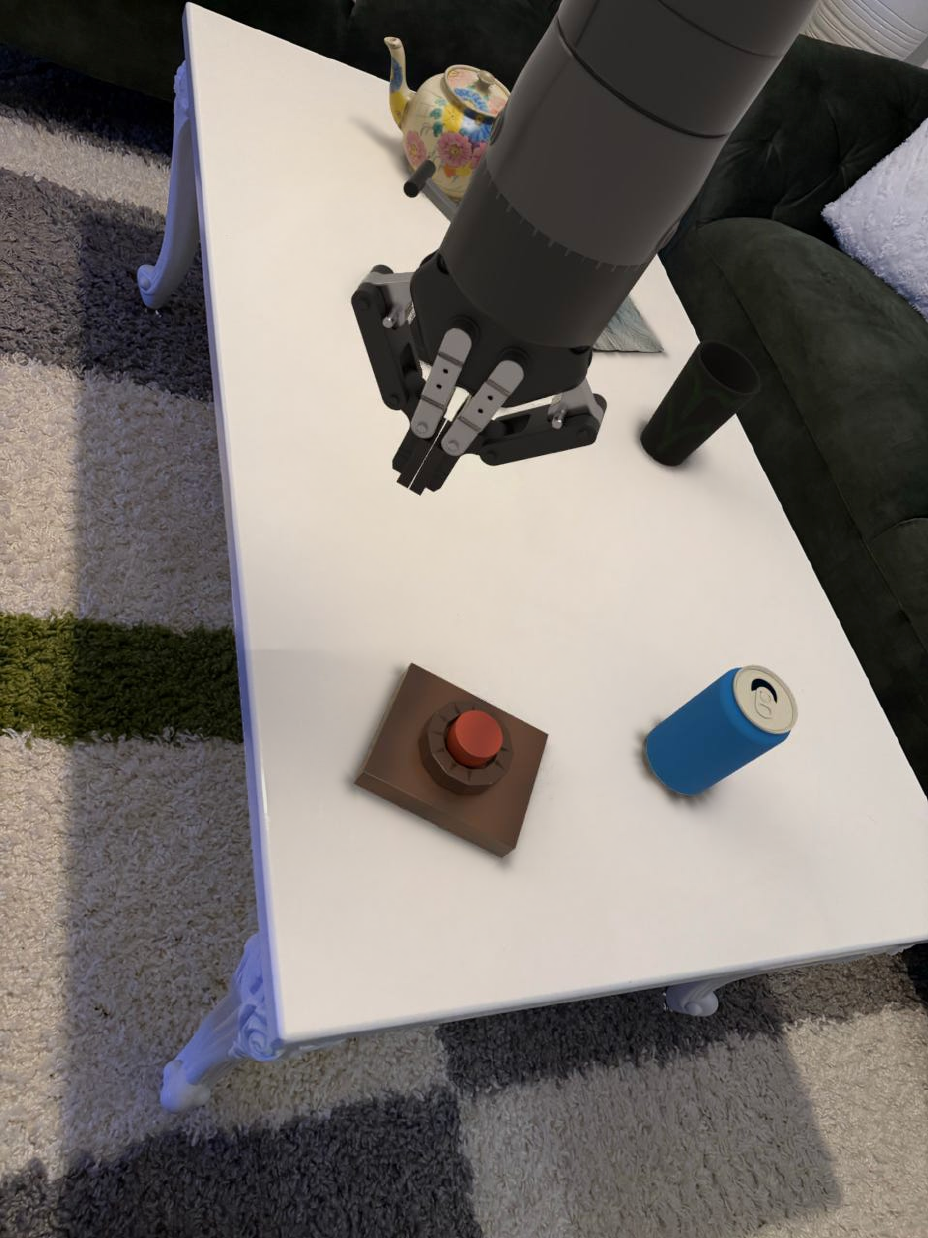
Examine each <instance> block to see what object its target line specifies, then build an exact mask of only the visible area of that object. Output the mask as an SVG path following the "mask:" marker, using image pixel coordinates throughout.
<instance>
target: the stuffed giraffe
mask: <svg viewBox="0 0 928 1238" xmlns="http://www.w3.org/2000/svg"><path fill="white" fill-rule="evenodd" d="M593 349H596V350H597V351H601V350H602V351H615V350H616V351H617V350H618V351H623V352H625V351H630V352H631V351H632V352H634V351H638V352H642V353H644V352H647V353H649V352H650V353H658V352H664V351H665V349H664V348H663V344H661V342H660V341H659V340H658V339H657V338H656V337H654V336H653V335H652V334H651V332H650V330H649V329H648V327H647V325H646V323H645V322H644V319H643V317H642V316H641V313H640V311H639V310H638V307H637V306H636V305H635V303H634V302H633V300H632V299H631V297H630V296H629V295H628V296H627V297H626V299H625V300H624V302H623V303H622V305H621V306H620V308H619V309H618V310H617V312H616V313H615V315H614V316H613V318H612V319H611V320H610V322H609V323H608V325H607V326H606V328H605V329H604V331H603V332H602V333H601V335H600V336H599V338H598V339H597V341H596V342H595V344H594V345H593Z"/></svg>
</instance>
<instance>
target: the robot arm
mask: <svg viewBox="0 0 928 1238" xmlns="http://www.w3.org/2000/svg"><path fill="white" fill-rule="evenodd" d="M819 1H820V0H561V2H560V5H559V8H558V10H557V11H556V13H555V15H554V16H553V18H552V20H551V22H550V24H549V26H548V28H547V30H546V31H545V33H544V35H543V36H542V38H541V39H540V41H539V42H538V44H537V46H536V47H535V49H534V50H533V52H532V53H531V55H530V57H529V58H528V59H527V61H526V63H525V65H524V66H523V68H522V70H521V72H520V74H519V75H518V77H517V80H516V81H515V84H514V85H513V87H512V90H511V91H510V93H511V94H510V96H509V98H508V100H507V102H506V104H505V107H504V108H503V109H502V110H501V111H499V113H498V115H497V116H496V119H495V121H494V123H493V126H492V128H491V131H490V135H489V142H488V144H487V145H486V148H485V150H484V152H483V154H482V156H481V158H480V160H479V163H478V165H477V167H476V169H475V171H474V174H473V176H472V178H471V180H470V182H469V184H468V187H467V189H466V191H465V193H464V195H463V197H462V199H461V202H459V204H458V206H457V207H458V208H457V210H456V212H455V215H454V217H453V219H452V221H451V222H450V224H449V226H448V228H447V230H446V232H445V234H444V235H443V237H442V240H441V243H440V245H439V247H438V248H437V249H436V250H434V251H433V252H431V253H429V254H427V255H426V256H425V257H424V258H423V259H422V260H421V261H420V263H419V265H418V267H417V268H416V269H415V270H414V271H407V272H406V271H405V272H394V270H393V269H392V268H391V267H390V266H388V265H385V264H383V263H382V264H381V263H380V264H376V265H374V266H373V268H372V269H371V270H370V271H369V272H368V273H367V274H366V275H365V277H364V278H363V279H362V280H361V282H360V283H359V285H358V286H357V289H356V290H355V291H354V292H353V294H352V295H351V298H350V304H351V308H352V311H353V314H354V317H355V320H356V323H357V326H358V329H359V332H360V335H361V338H362V341H363V344H364V348H365V351H366V354H367V357H368V361H369V362H370V366H371V369H372V372H373V375H374V378H375V382H376V384H377V388H378V390H379V393H380V397H381V400H382V402H383V404H384V405H385V406H386V407H387V408H388V409H390V410H392V411H397V412H398V411H401V412H402V413H403V414H404V416H406V418H407V420H408V423H409V427H408V429H407V431H406V433H405V435H404V437H403V439H402V441H401V443H400V445H399V447H398V448H397V450H396V453H395V454H394V456H393V458H392V459H391V468H392V470H393V471H396V472H398V473H399V476H398V478H397V480H396V483H397V484H399V485H400V486H402V487H404V488H406V489H408V490H409V491H411V492H413V493H414V494H416V495H417V496H420V497H421V496H422V494H423V492H424V491H425V490H426V489H427V490H429V491H431V493H435V492H437V491H438V490H440V489H442V487H443V485H444V484H445V482H446V481H447V479H448V478H449V476H450V475H451V472H452V471H453V469H454V468H455V466H456V464H457V463H458V462H459V460H460V458H461V457H462V456H465V455H475V456H478V457H479V458H480V460H481V461H482V462H483V464H485V465H487V466H490V467H498V466H503V465H507V464H511V463H515V462H520V461H524V460H530V459H532V458H538V457H543V456H547V455H552V454H556V453H560V452H565V451H569V450H574V449H580V448H584V447H588V446H591V445H593V444H594V443H596V441H597V438H598V435H599V432H600V429H601V426H602V423H603V421H604V417H605V414H606V411H607V408H608V402H607V400H606V398H605V397H604V396H603V395H601V394H599V393H597V392H596V393H595V392H593V391H592V388H591V386H590V384H589V381H588V379H587V374H588V371H589V368H590V366H591V364H592V362H593V351H594V348H593V345H594V344H595V342H596V341H597V339H598V338H599V336H600V335H601V333H602V332H603V331H604V329H605V328H606V326H607V325H608V323H609V322H610V320H611V319H612V318H613V316H614V315H615V313H616V312H617V310H618V309H619V308H620V306H621V305H622V303H623V302H624V300H625V299H626V297H627V296H629V295H630V293H631V292H632V290H634V288H635V286H636V284H637V283H638V282H639V280H640V279H641V277H642V276H643V275H644V273H645V272H646V270H647V269H648V267H649V266H650V264H651V263H652V262H653V260H654V258H655V257H656V256H657V254H658V253H659V251H660V250H661V249H664V248H665V247H666V246H667V245H668V243H669V242H670V241H671V240H672V238H673V237H674V235H675V234H676V232H677V231H678V227H679V225H680V222H681V220H682V218H683V217H684V216H685V214H686V212H687V211H688V210H689V208H690V207H691V206H692V204H693V202H694V200H695V199H696V198H697V196H698V194H699V193H700V191H701V189H702V186H704V184H705V182H706V181H707V178H708V176H709V174H710V172H711V170H712V168H713V167H714V164H715V163H716V160H717V158H718V157H719V155H720V154H721V152H722V149H723V148H724V146H725V144H726V143H727V141H728V139H729V138H730V136H731V134H732V133H733V131H734V130H735V129H736V127H737V126H738V125H739V123H740V122H741V120H742V118H743V117H744V116H745V114H746V113H747V111H748V110H749V108H750V107H751V106H752V105H753V103H754V101H755V100H756V98H757V97H758V95H759V94H760V92H761V91H762V90H763V88H764V87H765V85H766V83H768V80H769V79H770V78H771V77H772V75H773V73H774V72H775V70H776V69H777V68H778V66H779V65H780V63H781V62H782V60H783V59H784V57H785V56H786V54H787V53H788V52H789V50H790V49H791V48H792V45H793V44H794V42H795V40H796V39H797V38H798V36H799V34H800V33H801V31H803V28H804V27H805V25H806V24H807V23H808V20H809V19H810V17H811V15H812V13H813V11H814V10H815V8H816V6H817V5H818V3H819ZM413 311H414V317H415V316H416V320H417V324H418V329H419V333H420V337H421V341H422V346H423V350H424V354H425V356H426V359H427V360H428V362H429V364H430V365H431V366H430V365H429V364H428V365H429V366H430V367H431V369H430V372H429V374H428V376H427V379H425V378H424V374H423V373H424V372H423V368H422V365H421V360H420V359H419V357H418V354H417V350H416V347H415V343H414V340H413V336H412V333H411V329H410V326H409V324H410V322H409V317H410V316H411V314H412V312H413ZM457 388H459V389H462V390H465V391H466V392H467V393H468V395H467V396H466V398H465V399H464V400H463V402H462V403H461V404H460V405H459V407H458V408H457V410H456V412H455V413H454V415H453V418H452V419H451V420H449V419H447V418H446V417H445V416H446V414H447V412H448V408H449V406H450V403H451V402H452V399H453V397H454V394H455V393H456V390H457ZM549 397H553V398H552V400H551V402H550V403H546V404H543V405H540V406H535V407H531V408H527V409H524V410H520V411H515V412H511V413H507V414H503V415H500V416H497V417H495V418H494V416H495V415H496V414H497V412H498V411H499V410H500V408H502V409H511V408H516V407H520V406H524V405H526V404H530V403H533V402H537V401H540V400H543V399H546V398H549ZM493 418H494V419H493Z"/></svg>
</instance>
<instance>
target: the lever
mask: <svg viewBox="0 0 928 1238" xmlns="http://www.w3.org/2000/svg"><path fill="white" fill-rule="evenodd" d="M435 172H436V166H435V164H434V163H433V162H432V161H431V160H424V161H423V162H422V163H421V165H420V166H419V167H418V168H417V169H416V171H415V172H414V173H413V174H412V173H411V175H410V176H409V178H408V179H407V180H406V181H405V183H404V184H403V187H402V189H403V193H404V194H405V196H406V197H408V198H410V199H414V198H416V197H417V196H419V194H420V193H422V194H423V195H424V196H425V197H426V198H427V199H428V200H429V201H430V203H431V204H432V205H433V206H434V207H435V208H436V209H437V210H438V211H439V212H440V213H441V214H442V215H443V216H444V217H445V218H446V220H447V221H449V222H450V223H451V221H452V219H453V217H454V215H455V212H456V210H457V208H458V206H457V205H456V203H455V202H453V201H451V199H450V198H449V197H448V196H447V195H446V194H445V193H444V192H443V191H442V190H441V189H440V188H439V187H438V186H437V185H436V184H435V182H434V181H433V180H432V179H431V178H432V176H433V175H434V174H435Z"/></svg>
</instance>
